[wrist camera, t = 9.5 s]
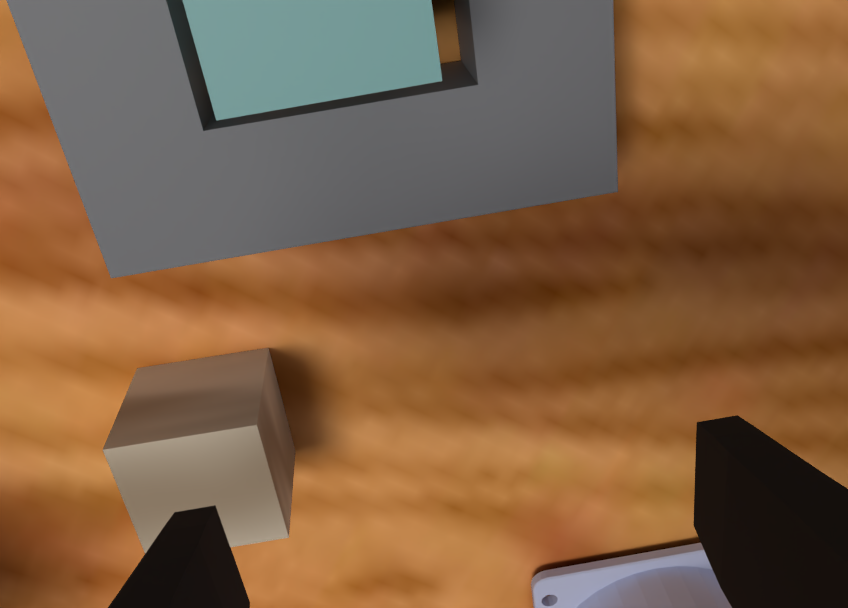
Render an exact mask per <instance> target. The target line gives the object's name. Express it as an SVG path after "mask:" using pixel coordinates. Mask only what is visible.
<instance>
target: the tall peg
mask: <svg viewBox="0 0 848 608" xmlns="http://www.w3.org/2000/svg"><path fill="white" fill-rule="evenodd" d="M183 4H184V7H185V11H186V15H187V18H188V22H189V25H190V29H191V32H192V36H193V39H194V43H195V47H196V50H197V54H198V57H199V61H200V64H201V68H202V71H203V75H204V79H205V82H206V86H207V89H208V93H209V96H210V100H211V103H212V107H213V111H214V114H215V118H216V121H217V120H223V119H228V118H234V117H240V116H245V115H251V114H257V113H263V112H268V111H274V110H280V109H285V108H291V107H297V106H303V105H308V104H314V103H320V102H325V101H331V100H337V99H342V98H348V97H354V96H360V95H365V94H371V93H377V92H382V91H388V90H394V89H400V88H405V87H411V86H417V85H422V84H428V83H434V82H440V81H442V74H441V67H440V59H439V52H438V45H437V37H436V30H435V23H434V16H433V8H432V1H431V0H183Z"/></svg>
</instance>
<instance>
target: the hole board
mask: <svg viewBox="0 0 848 608" xmlns="http://www.w3.org/2000/svg"><path fill="white" fill-rule="evenodd" d="M7 3H8V5H9V8H10V11H11V13H12V16H13V19H14V21H15V24H16V27H17V29H18V32H19V35H20V37H21V40H22V43H23V45H24V48H25V51H26V53H27V56H28V59H29V61H30V64H31V67H32V69H33V72H34V75H35V77H36V80H37V82H38V85H39V88H40V90H41V93H42V96H43V98H44V101H45V104H46V106H47V109H48V112H49V114H50V117H51V120H52V122H53V125H54V128H55V130H56V133H57V136H58V138H59V141H60V144H61V146H62V149H63V152H64V154H65V157H66V160H67V162H68V165H69V168H70V170H71V173H72V175H73V178H74V181H75V183H76V186H77V189H78V191H79V194H80V197H81V199H82V202H83V205H84V207H85V210H86V213H87V215H88V218H89V221H90V223H91V226H92V229H93V231H94V234H95V237H96V239H97V242H98V245H99V247H100V250H101V253H102V255H103V258H104V261H105V263H106V266H107V269H108V271H109V274H110V276H111V278H115V277H121V276H127V275H133V274H139V273H145V272H150V271H156V270H162V269H168V268H174V267H180V266H186V265H191V264H197V263H203V262H209V261H215V260H221V259H227V258H232V257H238V256H244V255H250V254H256V253H262V252H268V251H273V250H279V249H285V248H291V247H297V246H303V245H309V244H315V243H320V242H326V241H332V240H338V239H344V238H350V237H356V236H361V235H367V234H373V233H379V232H385V231H391V230H397V229H402V228H408V227H414V226H420V225H426V224H432V223H438V222H443V221H449V220H455V219H461V218H467V217H473V216H479V215H484V214H490V213H496V212H502V211H508V210H514V209H520V208H525V207H531V206H537V205H543V204H549V203H555V202H561V201H567V200H572V199H578V198H584V197H590V196H596V195H602V194H608V193H613V192H618V175H617V135H616V96H615V56H614V16H613V0H454V5H455V13H456V22H457V30H458V39H459V47H460V56H461V61H456V62H450V63H444V64H440V67H441V74H442V81H440V82H434V83H428V84H422V85H417V86H411V87H405V88H400V89H394V90H388V91H382V92H377V93H371V94H365V95H360V96H354V97H348V98H342V99H337V100H331V101H325V102H320V103H314V104H308V105H303V106H297V107H291V108H285V109H280V110H274V111H268V112H263V113H257V114H251V115H245V116H240V117H234V118H228V119H223V120H217V121H216V118H215V114H214V111H213V107H212V103H211V100H210V96H209V93H208V89H207V86H206V82H205V79H204V75H203V71H202V68H201V64H200V61H199V57H198V54H197V50H196V47H195V43H194V39H193V36H192V32H191V29H190V25H189V22H188V18H187V15H186V11H185V7H184V4H183V0H7Z"/></svg>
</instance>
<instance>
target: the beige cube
mask: <svg viewBox="0 0 848 608" xmlns="http://www.w3.org/2000/svg"><path fill="white" fill-rule="evenodd" d="M103 452H104V454H105V457H106V459H107V462H108V464H109V466H110V469H111V471H112V474H113V476H114V479H115V481H116V483H117V486H118V488H119V491H120V493H121V496H122V498H123V501H124V503H125V505H126V508H127V510H128V513H129V515H130V518H131V520H132V523H133V525H134V527H135V530H136V532H137V535H138V537H139V540H140V542H141V545H142V547H143V549H144V552H145V554H146V552H147V551H148V549H149V548H150V546H151V545H152V543H153V542H154V540H155V539H156V537H157V536H158V535H159V533H160V532H161V530H162V529H163V527H164V526H165V525H166V523H167V522H168V520H169V519H170V518H171V516H172V515H173V514H174V512H179V511H185V510H191V509H197V508H202V507H208V506H214V505H215V506H216V508H217V511H218V514H219V517H220V520H221V523H222V525H223V528H224V531H225V534H226V537H227V539H228V542H229V545H230V547H235V546H241V545H247V544H253V543H259V542H265V541H271V540H277V539H283V538H289V529H290V516H291V503H292V490H293V476H294V463H295V447H294V443H293V439H292V436H291V432H290V428H289V424H288V420H287V416H286V412H285V409H284V405H283V401H282V397H281V393H280V389H279V386H278V382H277V378H276V374H275V370H274V366H273V363H272V359H271V355H270V351H269V348H263V349H257V350H250V351H244V352H238V353H231V354H225V355H219V356H212V357H206V358H200V359H193V360H187V361H181V362H174V363H168V364H162V365H155V366H149V367H143V368H137V370H136V372H135V375H134V377H133V379H132V382H131V384H130V386H129V389H128V391H127V394H126V396H125V398H124V401H123V403H122V405H121V408H120V410H119V412H118V415H117V417H116V420H115V422H114V424H113V427H112V429H111V431H110V434H109V436H108V438H107V441H106V443H105V446H104V448H103Z"/></svg>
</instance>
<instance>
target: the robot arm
mask: <svg viewBox="0 0 848 608" xmlns="http://www.w3.org/2000/svg"><path fill="white" fill-rule="evenodd" d="M694 527H695V529H696V532H697V534H698V537H699V539H700V541H701V543H695V544H690V545H684V546H679V547H673V548H667V549H662V550H656V551H651V552H645V553H639V554H634V555H628V556H623V557H617V558H611V559H606V560H600V561H595V562H589V563H583V564H578V565H572V566H566V567H561V568H555V569H550V570H544V571H541V572H539V573H538V574H536V575H535V576H534V577H533V579H532V581H531V588H532V598H533V607H534V608H848V489H847V488H845V487H844V486H842V485H841V484H839V483H838V482H836V481H834V480H833V479H831V478H830V477H828V476H827V475H825V474H824V473H822V472H821V471H819V470H818V469H816V468H815V467H813V466H812V465H810V464H809V463H807V462H806V461H804V460H803V459H801V458H800V457H798V456H797V455H795V454H794V453H792V452H791V451H789V450H788V449H787V448H785V447H784V446H782V445H781V444H779V443H778V442H776V441H775V440H773V439H772V438H770V437H769V436H767V435H766V434H765V433H763V432H762V431H760V430H759V429H757V428H756V427H754V426H753V425H751V424H750V423H748V422H747V421H745V420H744V419H742V418H740V417H739V416H732V417H726V418H720V419H714V420H708V421H702V422H697V434H696V467H695V499H694ZM547 595H550V596H547ZM108 608H250V602H249V599H248V596H247V593H246V590H245V588H244V585H243V582H242V579H241V576H240V573H239V571H238V568H237V565H236V562H235V559H234V556H233V554H232V551H231V548H230V545H229V542H228V539H227V537H226V534H225V531H224V528H223V525H222V523H221V520H220V517H219V514H218V511H217V508H216V506H215V505H214V506H208V507H202V508H197V509H191V510H185V511H179V512H174V514H173V515H172V516H171V518H170V519H169V520H168V522H167V523H166V525H165V526H164V527H163V529H162V530H161V532H160V533H159V535H158V536H157V537H156V539H155V540H154V542H153V543H152V545H151V546H150V548H149V549H148V551H147V552H146V554H145V555H144V557H143V558H142V560H141V561H140V562H139V564H138V565H137V567H136V568H135V570H134V571H133V573H132V574H131V576H130V577H129V578H128V580H127V581H126V583H125V584H124V586H123V587H122V589H121V590H120V591H119V593H118V594H117V596H116V597H115V598H114V600H113V601H112V603H111V604H110V605H109V607H108Z"/></svg>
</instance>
